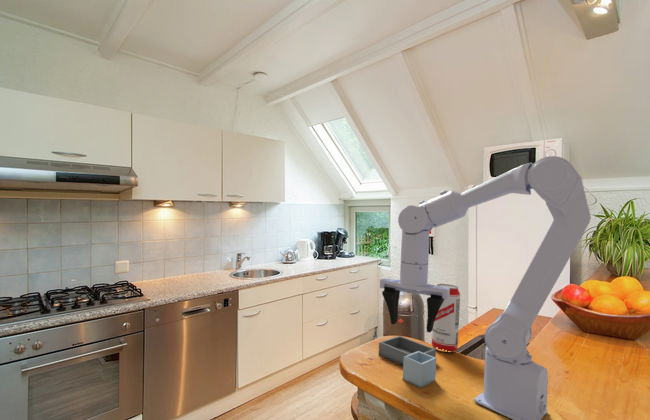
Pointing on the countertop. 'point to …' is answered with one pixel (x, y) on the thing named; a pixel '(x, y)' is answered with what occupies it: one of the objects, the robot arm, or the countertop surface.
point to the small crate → (419, 369)
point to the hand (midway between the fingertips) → (411, 326)
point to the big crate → (402, 349)
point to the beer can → (447, 321)
